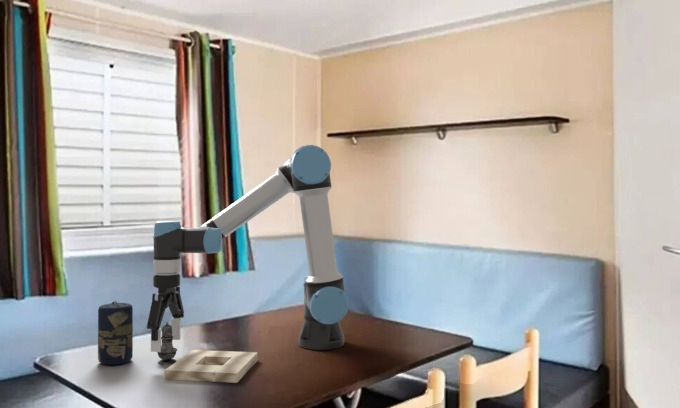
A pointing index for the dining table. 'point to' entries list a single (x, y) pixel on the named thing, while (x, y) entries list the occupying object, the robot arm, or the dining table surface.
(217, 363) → the socket
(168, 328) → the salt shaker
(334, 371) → the dining table surface
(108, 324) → the canister
